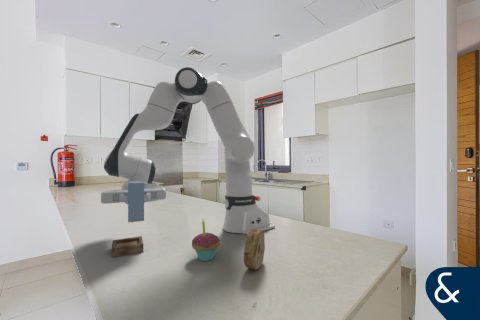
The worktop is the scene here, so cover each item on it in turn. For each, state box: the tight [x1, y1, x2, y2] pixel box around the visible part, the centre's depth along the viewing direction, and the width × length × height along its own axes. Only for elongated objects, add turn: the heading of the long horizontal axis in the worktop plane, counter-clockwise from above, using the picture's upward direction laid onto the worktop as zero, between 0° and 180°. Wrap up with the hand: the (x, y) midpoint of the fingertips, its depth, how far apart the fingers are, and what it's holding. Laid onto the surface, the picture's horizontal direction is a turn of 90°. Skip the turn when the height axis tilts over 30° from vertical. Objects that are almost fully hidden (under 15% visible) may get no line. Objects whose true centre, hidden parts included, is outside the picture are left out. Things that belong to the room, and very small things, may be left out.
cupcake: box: [191, 220, 221, 262], centre depth 70 cm, size 9×8×12 cm
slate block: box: [127, 182, 145, 223], centre depth 75 cm, size 4×4×12 cm
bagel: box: [243, 229, 266, 271], centre depth 64 cm, size 10×4×10 cm, turn 157°
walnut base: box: [110, 235, 144, 258], centre depth 77 cm, size 9×9×2 cm
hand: (136, 198), depth 74 cm, fingers closed on slate block, 4 cm apart
